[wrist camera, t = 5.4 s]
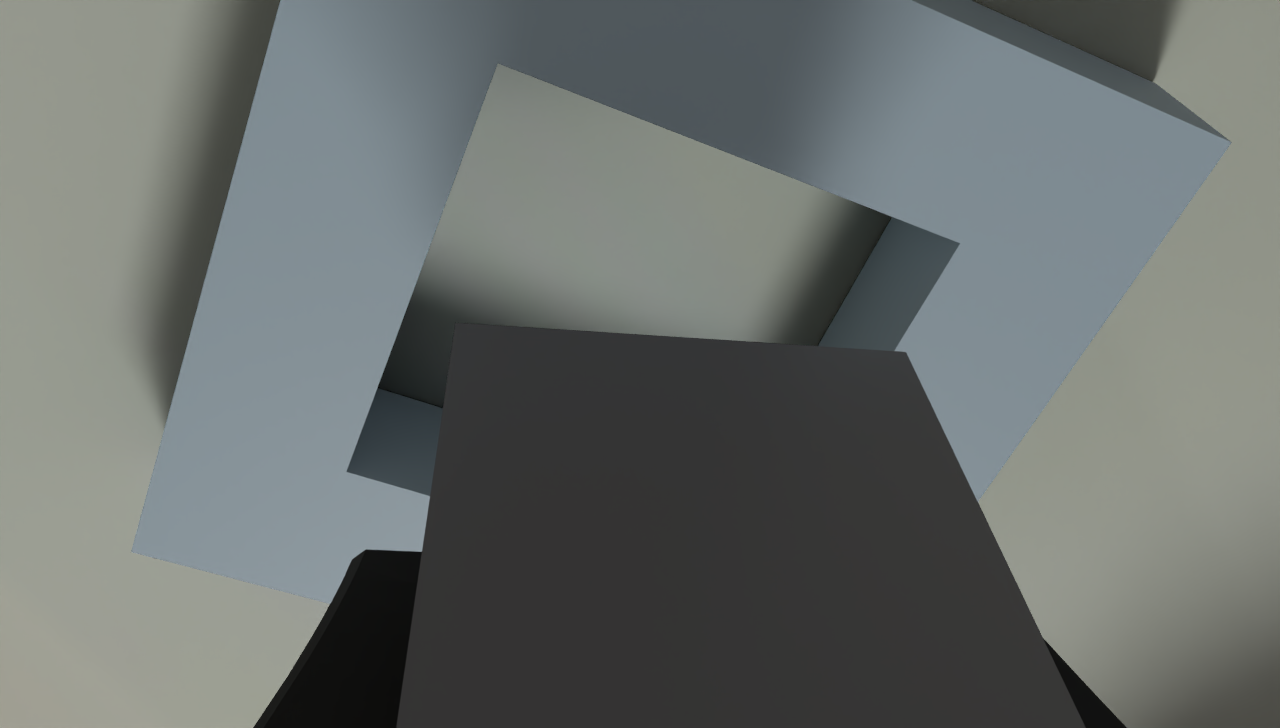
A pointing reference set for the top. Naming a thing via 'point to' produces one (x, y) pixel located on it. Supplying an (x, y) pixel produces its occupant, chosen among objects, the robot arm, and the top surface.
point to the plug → (708, 546)
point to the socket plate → (691, 106)
